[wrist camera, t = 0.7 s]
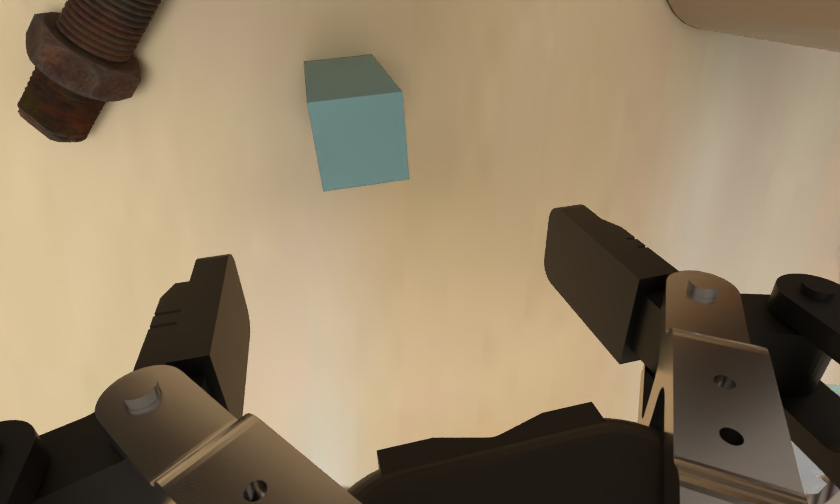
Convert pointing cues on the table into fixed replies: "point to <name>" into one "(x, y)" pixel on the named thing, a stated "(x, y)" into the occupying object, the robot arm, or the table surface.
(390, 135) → the peg
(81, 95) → the bolt
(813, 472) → the castle model
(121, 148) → the table surface
